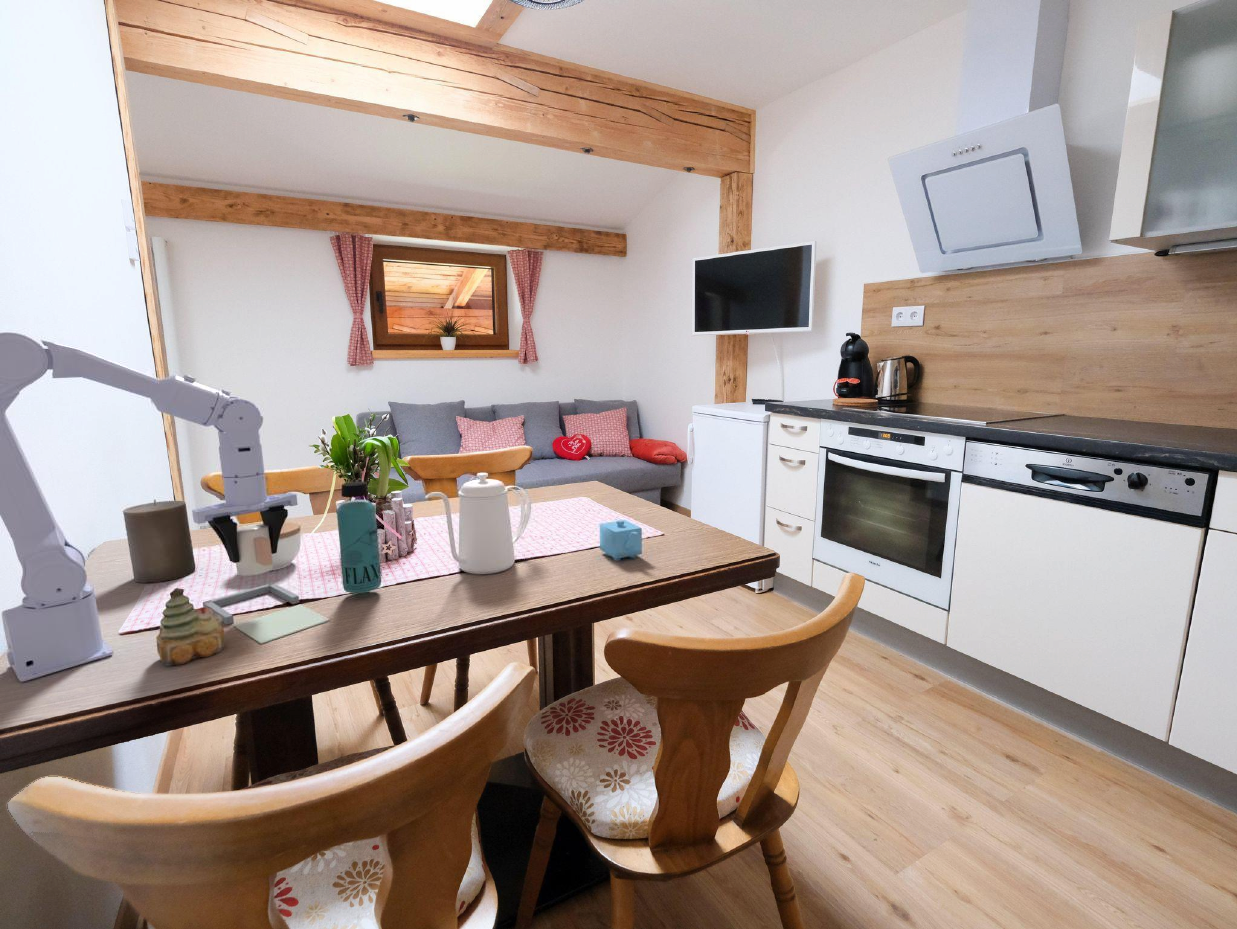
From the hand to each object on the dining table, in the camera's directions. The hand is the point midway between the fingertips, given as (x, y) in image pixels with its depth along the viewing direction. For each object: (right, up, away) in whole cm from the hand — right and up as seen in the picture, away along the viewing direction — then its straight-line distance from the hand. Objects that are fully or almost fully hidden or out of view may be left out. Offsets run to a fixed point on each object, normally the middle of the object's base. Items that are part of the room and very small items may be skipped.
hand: (253, 556), depth 98 cm
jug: (+1, -2, 0) cm, 3 cm away
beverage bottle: (+14, -8, +8) cm, 18 cm away
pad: (+7, -10, -3) cm, 12 cm away
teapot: (+60, -4, +26) cm, 66 cm away
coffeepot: (+33, -5, +21) cm, 40 cm away
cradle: (-2, -9, +3) cm, 10 cm away
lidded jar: (-10, -6, +23) cm, 26 cm away
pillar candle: (-29, -7, +19) cm, 35 cm away
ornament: (-1, -12, -13) cm, 18 cm away
